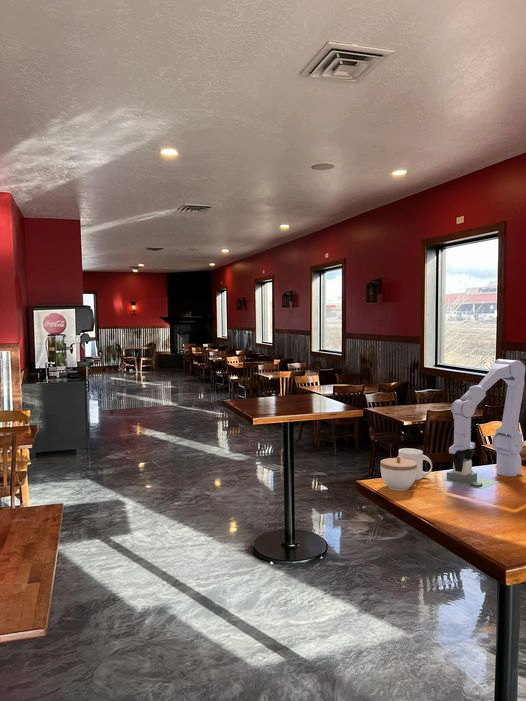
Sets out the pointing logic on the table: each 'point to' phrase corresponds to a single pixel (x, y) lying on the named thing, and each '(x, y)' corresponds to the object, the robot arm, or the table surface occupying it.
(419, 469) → the mug
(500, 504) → the table surface
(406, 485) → the lidded bowl
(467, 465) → the plug
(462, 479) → the board
